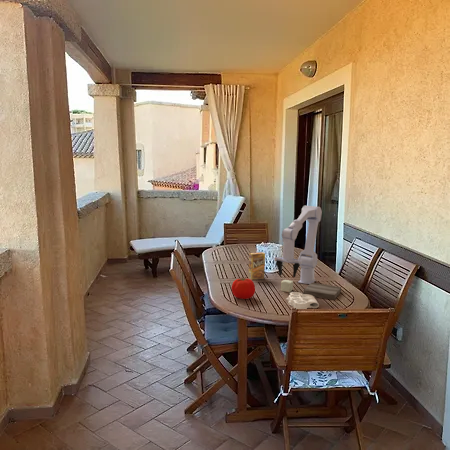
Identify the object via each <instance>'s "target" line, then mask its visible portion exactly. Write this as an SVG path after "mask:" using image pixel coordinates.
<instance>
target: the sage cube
mask: <svg viewBox="0 0 450 450" xmlns="http://www.w3.org/2000/svg"><path fill="white" fill-rule="evenodd" d="M293 289H294V280H289V279H283V280H282V281H281V282H280V291H281V292H286V293H291V292H293Z"/></svg>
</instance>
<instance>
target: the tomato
mask: <svg viewBox="0 0 450 450" xmlns="http://www.w3.org/2000/svg"><path fill="white" fill-rule="evenodd" d="M231 292H232V295H233V296H234V297H235V298H237V299H240V300H246V299H251V298H252V297H254V295H255V293H256V285H255V282H254V281H253V280H251V279H249V278H247V277H246V276H245V277H242V278H237V279H234V281H233V282H232V284H231Z"/></svg>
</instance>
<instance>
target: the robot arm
mask: <svg viewBox="0 0 450 450" xmlns="http://www.w3.org/2000/svg"><path fill="white" fill-rule="evenodd" d="M300 212H301V213H300V215H298V218H297V219H294V220H293V221H292V222H291V223H290V225H288V227H286V228H285V227H284V229H283V230H282V231H281V237H282V238H281V239H282V242H283V244H282V245H283V247H282V248H283V249H282V256H281V257H280V256H279V257H277V256H275V257H274V262H275V265H276V267H277V270H278V273H279V275H278V276H282V275H283V266H284V264H283V263H286V264H287V263H288V264H293V265H292V268H293V269H292V271H293V272H292V273H293V274H292V278H295V277H297V272H298V270H299V268H300V278H299V279H300V280H298V281H297V283H299V284H304V285H310V284H311V283H316V281H317V280H316V279H315V268H316V267H317V265H318V254H317V253H316V252H315V251H314V250H315V245H316V239H317V232H318V228H319V227H318V225H319V223H320V222H321V220H322V214H323V213H322V212H323V210H322V207H320V206H314V205H313V206H312V205H306V204H305V205H303V206H302V208H301V211H300ZM305 221H307V222H308V226H307V227H308V228H307V234H306V240H305V244H304V250H301V251H300V253H299V256H298V258H297V259H296V258H295V243H296V242H295V241H296V239H297V236H298V234H299V231H300V230H301V229H302V228H303V224H304V222H305Z"/></svg>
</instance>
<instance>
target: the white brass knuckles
mask: <svg viewBox="0 0 450 450" xmlns="http://www.w3.org/2000/svg"><path fill="white" fill-rule="evenodd" d="M285 300H286V301H288V302H287V304H289V305H290V306H291V307H293V308H294V309H295V308H296V309H295V310H297V309H306V310H307V309H311V308H312V309H317V308H319V307H320V304H319V302H318V301H317V299H316V297H314V296H312V295H309V294H303V292H298V291H291V292H289V295H288V297H287V298H285Z"/></svg>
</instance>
